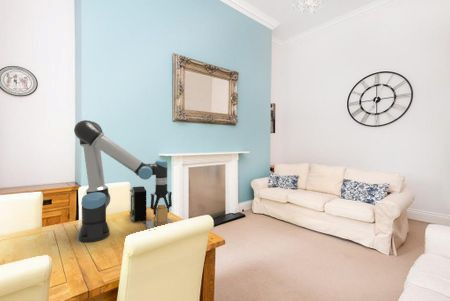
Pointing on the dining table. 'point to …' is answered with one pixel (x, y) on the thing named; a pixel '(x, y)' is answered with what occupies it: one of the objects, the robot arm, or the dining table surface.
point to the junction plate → (151, 223)
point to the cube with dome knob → (161, 213)
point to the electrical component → (138, 204)
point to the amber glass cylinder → (155, 221)
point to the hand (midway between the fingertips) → (161, 218)
